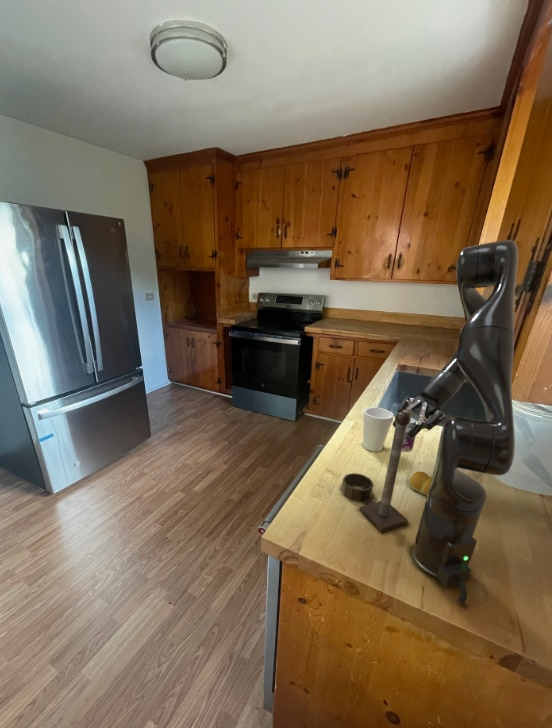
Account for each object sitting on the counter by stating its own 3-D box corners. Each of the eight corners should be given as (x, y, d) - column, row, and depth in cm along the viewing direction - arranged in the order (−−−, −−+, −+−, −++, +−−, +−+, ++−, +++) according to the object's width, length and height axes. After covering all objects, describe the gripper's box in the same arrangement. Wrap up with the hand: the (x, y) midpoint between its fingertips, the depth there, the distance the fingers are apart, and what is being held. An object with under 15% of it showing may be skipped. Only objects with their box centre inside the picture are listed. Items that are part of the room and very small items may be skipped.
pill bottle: (392, 449, 100) (397, 420, 96) (395, 442, 104) (400, 414, 100) (411, 454, 97) (417, 425, 94) (413, 446, 102) (419, 418, 98)
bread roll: (436, 502, 88) (439, 490, 87) (403, 486, 94) (406, 474, 93) (448, 489, 93) (451, 477, 92) (416, 475, 99) (419, 464, 98)
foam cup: (353, 442, 118) (358, 409, 113) (375, 438, 121) (381, 406, 116) (369, 455, 110) (375, 420, 105) (392, 451, 112) (399, 417, 107)
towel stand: (407, 523, 81) (433, 417, 70) (380, 532, 78) (403, 422, 67) (359, 481, 97) (374, 388, 86) (336, 486, 94) (348, 392, 83)
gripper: (416, 374, 102) (379, 414, 102) (458, 389, 89) (415, 435, 90) (426, 388, 105) (390, 427, 106) (467, 404, 93) (426, 449, 93)
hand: (402, 430), depth 98 cm, fingers closed on pill bottle, 5 cm apart
